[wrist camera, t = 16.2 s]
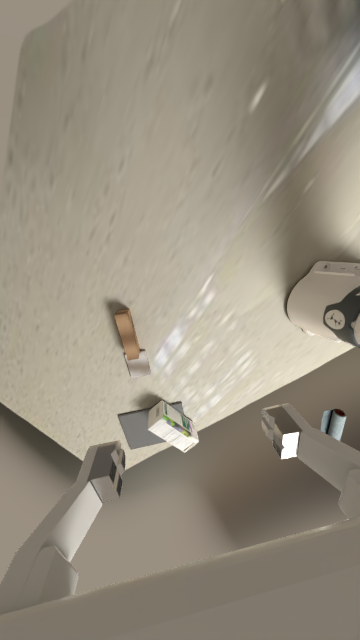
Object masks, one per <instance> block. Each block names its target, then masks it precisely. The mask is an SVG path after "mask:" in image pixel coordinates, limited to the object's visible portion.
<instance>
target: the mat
mask: <svg viewBox="0 0 360 640" xmlns="http://www.w3.org/2000/svg"><path fill="white" fill-rule="evenodd" d="M168 405H170V406H171V407H172V408H174V409H175V410H177V411H178V412H179V413H181V414H182V415H183V416H184V413H183V408H182V402H178V403H173V404H168ZM151 409H152V408H149V409H145V410H140V411H135V412H130V413H126V414H121V415H119V419H120V422H121V425H122V427H123V430H124V433H125V435H126V438H127V441H128V443H129V446H130V449H136V448H140V447H145V446H149V445H154V444H158V443H162V442H167V441H165V440H164V439H162V438H160V437H159V436H157V435H156V434H154V433H152V432H151V431H149V430H148V415H149V411H150V410H151Z"/></svg>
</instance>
